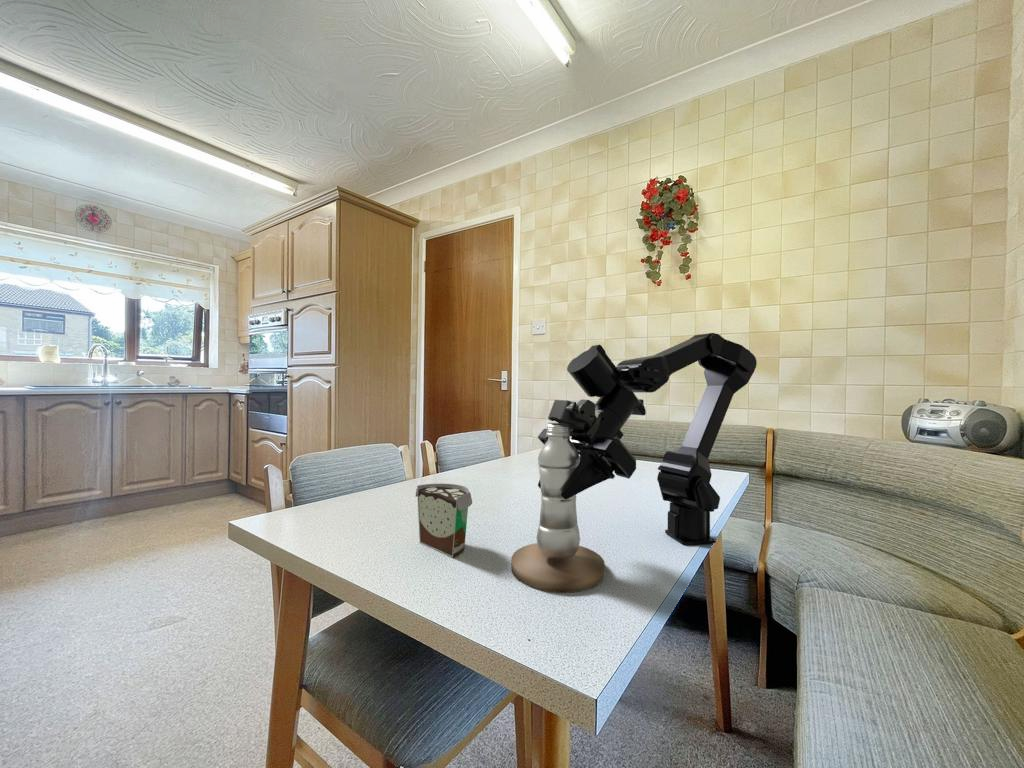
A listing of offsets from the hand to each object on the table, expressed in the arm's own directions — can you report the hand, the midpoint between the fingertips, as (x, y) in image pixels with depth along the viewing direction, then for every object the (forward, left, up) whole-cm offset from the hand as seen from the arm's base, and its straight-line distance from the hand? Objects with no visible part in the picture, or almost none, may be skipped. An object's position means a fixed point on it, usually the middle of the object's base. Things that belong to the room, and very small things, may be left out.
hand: (550, 492), depth 60 cm
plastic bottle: (-1, 0, -10) cm, 10 cm away
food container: (+15, -12, -12) cm, 23 cm away
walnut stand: (-1, 0, -12) cm, 12 cm away
